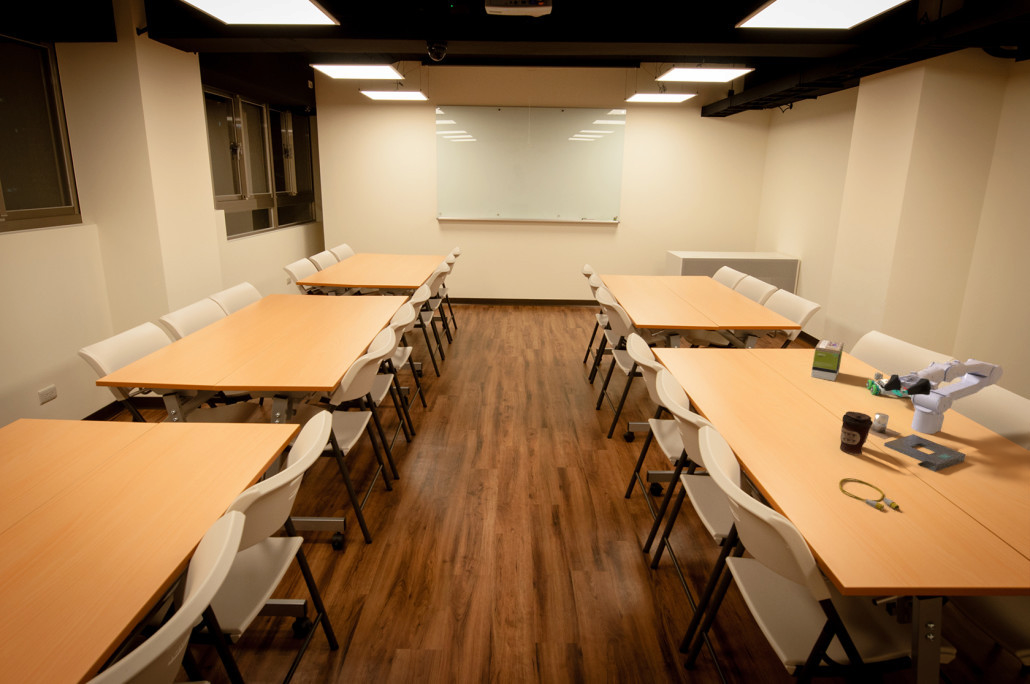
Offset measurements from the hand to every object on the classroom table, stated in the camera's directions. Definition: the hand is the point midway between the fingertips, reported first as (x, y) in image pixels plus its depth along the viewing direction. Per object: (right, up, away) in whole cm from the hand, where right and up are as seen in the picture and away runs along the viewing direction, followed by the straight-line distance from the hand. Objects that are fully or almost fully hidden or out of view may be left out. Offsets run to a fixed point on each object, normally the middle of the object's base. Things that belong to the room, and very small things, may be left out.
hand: (896, 390), depth 185 cm
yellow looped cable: (-27, -28, -26) cm, 47 cm away
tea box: (+16, +1, +72) cm, 74 cm away
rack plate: (+6, -21, -3) cm, 22 cm away
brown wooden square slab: (+1, -17, +11) cm, 20 cm away
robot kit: (+32, -8, +46) cm, 56 cm away
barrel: (+1, -15, +11) cm, 19 cm away
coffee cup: (-16, -20, -1) cm, 26 cm away
